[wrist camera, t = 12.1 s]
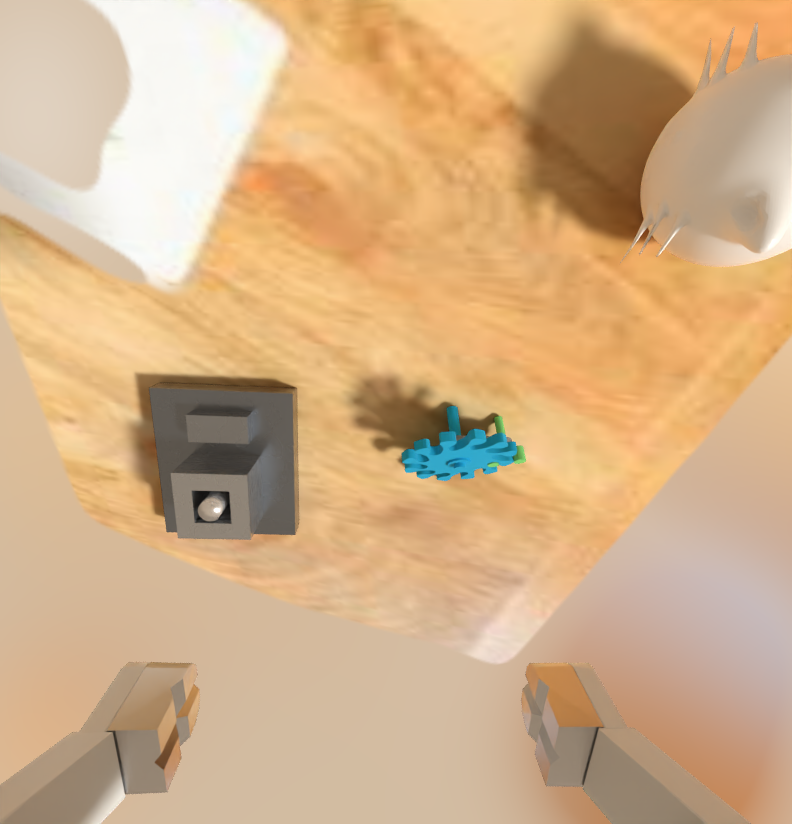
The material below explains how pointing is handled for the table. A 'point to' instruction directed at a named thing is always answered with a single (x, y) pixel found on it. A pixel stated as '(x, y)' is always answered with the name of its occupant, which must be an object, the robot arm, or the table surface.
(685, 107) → the cat head
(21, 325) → the table surface
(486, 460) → the gear
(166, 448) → the shaft stand
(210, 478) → the collar
